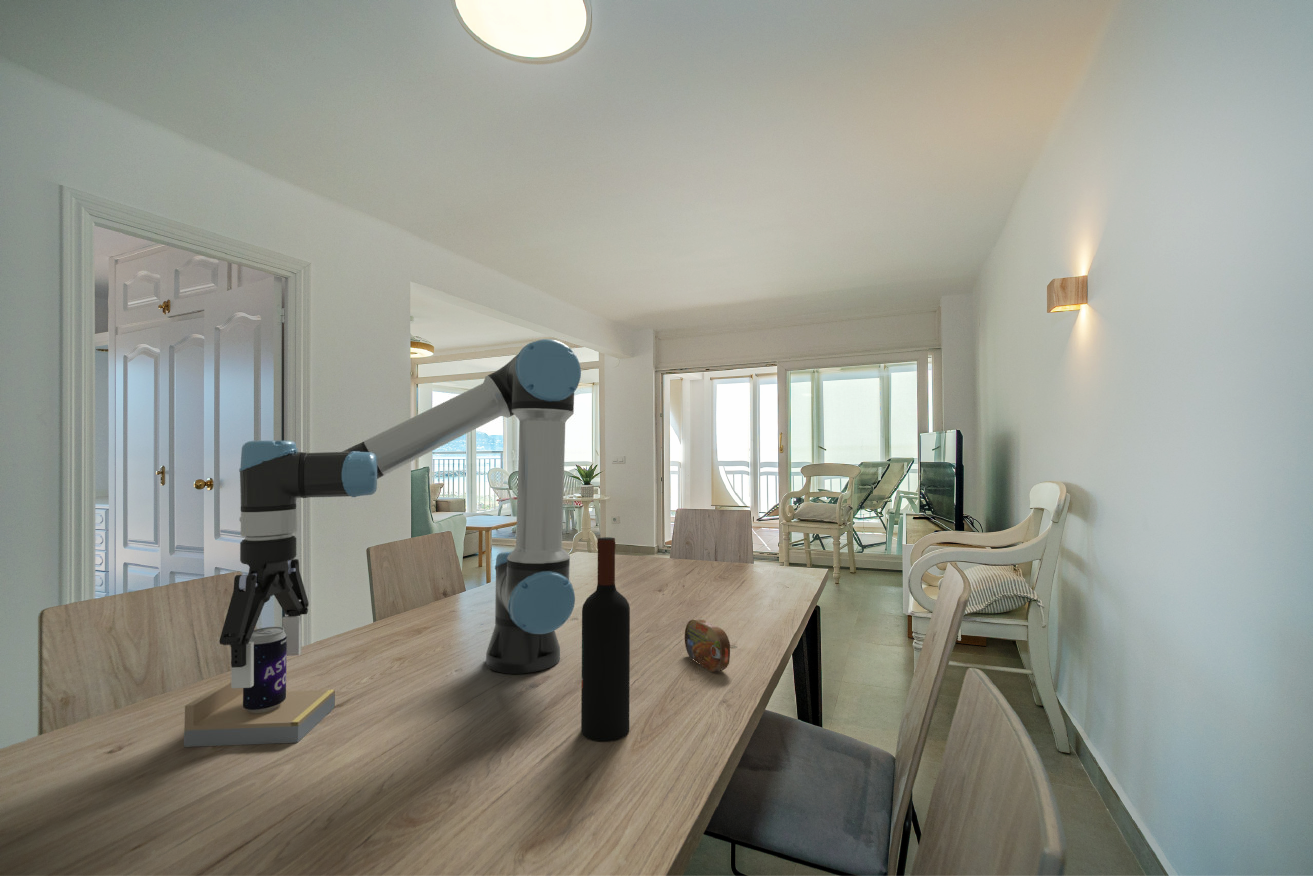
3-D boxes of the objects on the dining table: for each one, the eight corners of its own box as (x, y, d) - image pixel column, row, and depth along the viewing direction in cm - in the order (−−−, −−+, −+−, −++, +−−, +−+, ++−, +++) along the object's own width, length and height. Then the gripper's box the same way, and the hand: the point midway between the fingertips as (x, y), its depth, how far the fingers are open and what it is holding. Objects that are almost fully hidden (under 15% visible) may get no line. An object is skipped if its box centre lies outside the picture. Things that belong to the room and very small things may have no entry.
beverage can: (263, 717, 89) (265, 638, 89) (233, 713, 90) (234, 635, 90) (294, 701, 94) (295, 627, 95) (265, 698, 96) (266, 624, 96)
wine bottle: (591, 746, 86) (592, 543, 87) (574, 725, 93) (575, 537, 94) (637, 735, 90) (638, 540, 91) (617, 715, 96) (618, 534, 97)
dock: (334, 707, 99) (335, 672, 99) (297, 742, 87) (298, 702, 87) (235, 711, 98) (236, 675, 98) (184, 747, 86) (184, 705, 86)
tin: (683, 654, 126) (683, 615, 126) (696, 652, 128) (696, 613, 128) (719, 678, 113) (719, 634, 113) (733, 676, 114) (733, 632, 114)
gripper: (286, 527, 105) (286, 644, 105) (188, 550, 81) (188, 705, 80) (329, 525, 106) (330, 643, 106) (246, 549, 81) (245, 702, 81)
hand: (268, 670), depth 93 cm, fingers open, 13 cm apart
